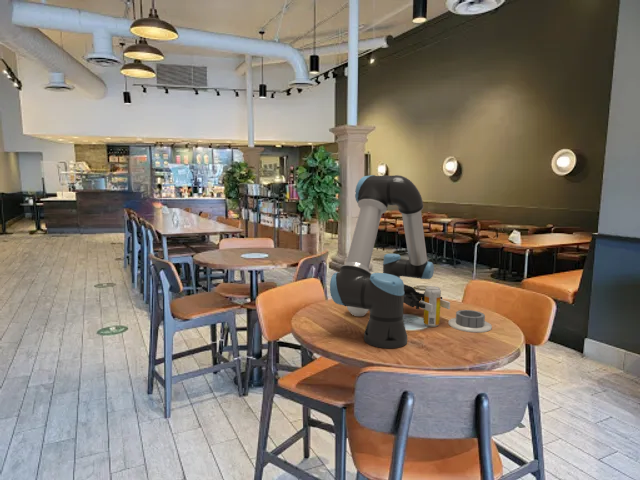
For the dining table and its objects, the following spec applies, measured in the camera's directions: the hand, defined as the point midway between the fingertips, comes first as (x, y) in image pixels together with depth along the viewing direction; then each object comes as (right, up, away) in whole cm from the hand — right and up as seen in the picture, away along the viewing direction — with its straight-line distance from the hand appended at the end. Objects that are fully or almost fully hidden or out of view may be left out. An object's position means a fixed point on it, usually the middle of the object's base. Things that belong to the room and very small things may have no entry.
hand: (440, 307), depth 162 cm
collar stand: (+13, -8, +5) cm, 16 cm away
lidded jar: (-30, -6, +19) cm, 36 cm away
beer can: (-2, -8, +5) cm, 10 cm away
